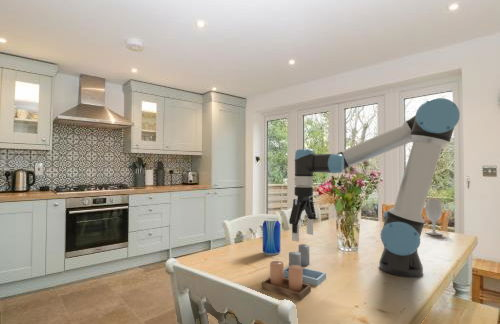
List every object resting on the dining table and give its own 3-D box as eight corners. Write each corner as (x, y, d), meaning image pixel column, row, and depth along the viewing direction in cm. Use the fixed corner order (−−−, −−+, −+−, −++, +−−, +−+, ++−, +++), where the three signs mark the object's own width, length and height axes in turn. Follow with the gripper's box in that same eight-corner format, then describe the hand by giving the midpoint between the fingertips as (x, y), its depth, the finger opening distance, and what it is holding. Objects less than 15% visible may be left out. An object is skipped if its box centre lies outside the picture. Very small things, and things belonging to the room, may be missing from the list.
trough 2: (326, 279, 100) (326, 272, 100) (317, 287, 94) (317, 279, 94) (291, 271, 109) (291, 264, 109) (281, 277, 102) (281, 270, 102)
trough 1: (310, 293, 90) (310, 285, 90) (300, 302, 84) (300, 294, 84) (273, 282, 98) (273, 275, 98) (261, 290, 92) (261, 282, 92)
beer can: (279, 257, 126) (279, 221, 126) (261, 255, 127) (261, 220, 128) (281, 251, 134) (281, 218, 134) (264, 250, 136) (264, 217, 136)
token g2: (311, 264, 116) (311, 245, 116) (306, 267, 112) (306, 247, 112) (301, 262, 118) (301, 243, 119) (296, 265, 115) (296, 246, 115)
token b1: (302, 274, 104) (302, 253, 104) (297, 278, 100) (297, 256, 100) (292, 271, 106) (292, 250, 107) (286, 275, 103) (286, 253, 103)
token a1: (285, 286, 93) (285, 262, 94) (279, 291, 90) (279, 266, 90) (274, 283, 96) (274, 260, 96) (267, 287, 92) (267, 263, 93)
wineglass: (422, 232, 171) (421, 198, 172) (432, 231, 174) (432, 198, 174) (435, 236, 163) (434, 200, 164) (446, 235, 166) (445, 199, 166)
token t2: (304, 292, 89) (305, 267, 90) (298, 297, 86) (298, 270, 86) (292, 288, 92) (292, 264, 92) (285, 293, 88) (286, 267, 89)
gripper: (308, 184, 128) (307, 230, 128) (280, 187, 108) (280, 242, 108) (323, 185, 124) (323, 233, 123) (298, 188, 104) (297, 245, 103)
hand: (303, 237), depth 116 cm, fingers open, 13 cm apart
